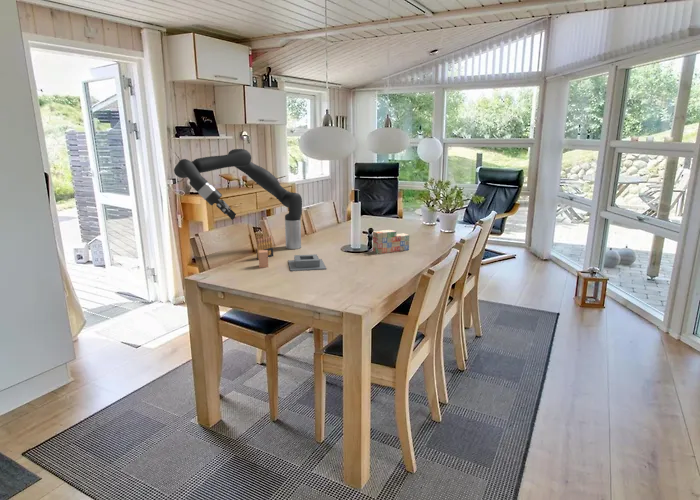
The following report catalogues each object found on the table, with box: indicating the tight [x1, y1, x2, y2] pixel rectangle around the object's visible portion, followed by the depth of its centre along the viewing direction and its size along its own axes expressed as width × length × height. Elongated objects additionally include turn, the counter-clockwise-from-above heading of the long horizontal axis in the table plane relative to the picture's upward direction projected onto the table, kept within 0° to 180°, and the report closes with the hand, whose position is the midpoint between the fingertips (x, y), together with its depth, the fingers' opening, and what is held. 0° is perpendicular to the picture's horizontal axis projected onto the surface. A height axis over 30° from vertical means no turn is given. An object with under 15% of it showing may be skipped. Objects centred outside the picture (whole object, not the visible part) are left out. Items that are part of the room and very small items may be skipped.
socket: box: [287, 253, 327, 272], centre depth 230 cm, size 18×18×4 cm
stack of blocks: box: [372, 229, 410, 254], centre depth 261 cm, size 21×6×12 cm, turn 115°
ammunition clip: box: [256, 235, 274, 261], centre depth 243 cm, size 11×2×12 cm, turn 143°
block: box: [258, 250, 269, 269], centre depth 227 cm, size 4×4×8 cm
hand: (234, 217), depth 220 cm, fingers open, 8 cm apart
